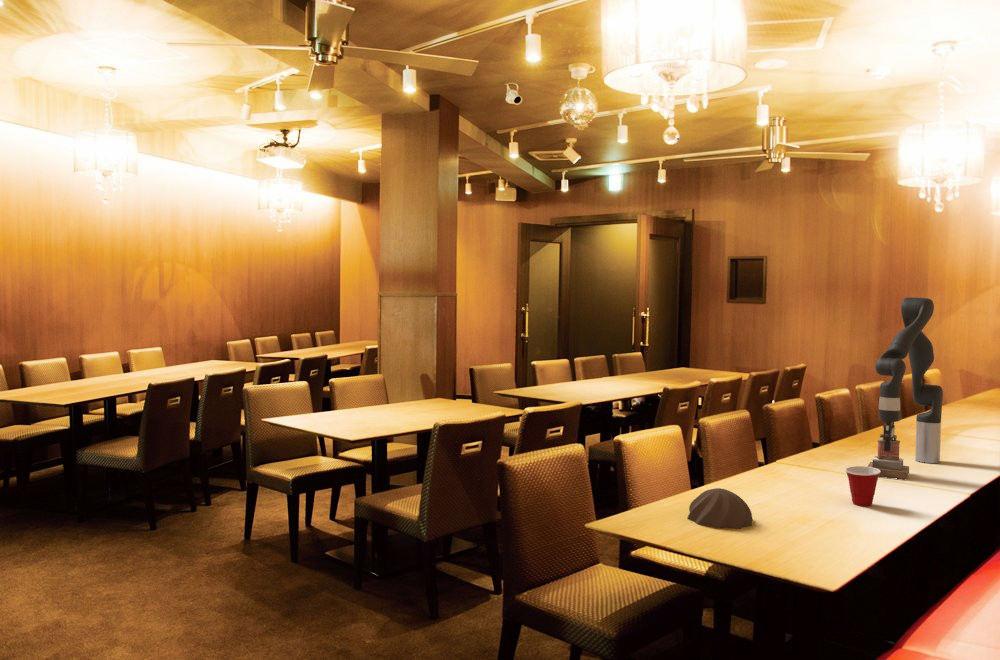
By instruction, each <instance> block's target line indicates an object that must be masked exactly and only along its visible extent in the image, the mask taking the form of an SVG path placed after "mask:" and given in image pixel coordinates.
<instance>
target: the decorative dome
mask: <svg viewBox="0 0 1000 660" xmlns="http://www.w3.org/2000/svg"><path fill="white" fill-rule="evenodd" d="M688 509H689V510H688V511H689V514H688V516H687V520H689V521H693V522H694V523H695V525H698V526H705V527H710V528H714V529H721V530H722V529H730V530H731V529H732V530H739V529H742V528H749V527H753V521H754V520H753V514H752V511H751V509H750V507H749V505H748V504H747V502H746V501H744V499H743V498H742V497H740V496H739V495H738V494H736V493H735V492H733V491H730V490H727V489H725V488H719V487H718V488H710V489H707V490H704V491H702V492H701V493H700V494H699V495H698V496H696V498H695V499H693V500H692V501H691V503H690V504H689V507H688Z"/></svg>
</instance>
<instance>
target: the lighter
mask: <svg viewBox="0 0 1000 660" xmlns="http://www.w3.org/2000/svg"><path fill="white" fill-rule="evenodd" d="M897 437H898V436H897V435H896V434H894V435H893V437H891V450H890V451H884V440H883V438H884V436H883V433H880V434H879V438H881V439H877V455H876V456H877V459H880V460H899V459H900V444H901V441H900V440H897V439H898V438H897ZM887 438H889V437H887Z"/></svg>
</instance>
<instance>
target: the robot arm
mask: <svg viewBox="0 0 1000 660" xmlns="http://www.w3.org/2000/svg"><path fill="white" fill-rule="evenodd" d="M934 305H935V304H934V302H933V300H932V299H931V298H928V297H927V298H925V297H911V296H910V297H908V296H907V297H904V298H903V299H902V301H901V303H900V313H901V318H902V322H903V326H904V328H903V329H901V330H899V332H898V333H896V335H894V337H893V339H892V341H891V343H890V345H889V347H888V348H887V349H886V351H884V353H882V354H881V355H880V357H879V358H878V359H877V360H876V362H875V366H874V367H875V371H876V373H877V374H878V375H880V376H887V377H891V379H890V380H889V381H882V382H881V383H880V385H879V386H880V387H879V399H878V400H879V401H878V420H879V421H881V422H882V421H884V424H883V426H882V434H883V436H884V438H882V440H884V451H890V450H891V437H893V435H895V430H896V425H895V423H897V422H900V421H901V398H900V397H901V385H902V383H903V382H902V381H903V379H904V376H905V373H906V369H907V367H906V363H905V361H904V360H903V359H906V357H907V356H908V359H909V364H910V371H911V382H912V385H911V386H912V398H913V402H914V404H916V406H925V407H931V409H930V410H929V411H926V412H921V413H918V414H916V417H915V419H916V421H915V422H916V425H915V458H914V459H915V461H917V462H919V461H920V463H924V462H925V464H940V462H941V442H942V441H941V440H942V439H941V436H942V435H941V434H942V433H941V432H942V411H943V399H944V391H943V388H942V386H941V385H939V384H926V383H924V384H923V378H924V376H925V374H926V373H927V371H929V369H930V368H931V366H932V365H933V364H934V360H935V354H934V346H933V343H932V342H931V340H930V339H929V338H928V336H927V335H926V334H925V333H924V332H923V330H924V328H925V327H926V325H927V324H928V323H929V321H930V320H931V318H932V316H933V314H934V311H935V306H934ZM887 437H889V438H887Z"/></svg>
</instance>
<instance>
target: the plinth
mask: <svg viewBox="0 0 1000 660" xmlns="http://www.w3.org/2000/svg"><path fill="white" fill-rule="evenodd" d="M877 456H878V455H875V456H874V457H873V459H872V461H870V462H869V463H868V465H867V466H866V467H873V468H877V469H879V470H880V471H881V472H880V473H879V477H878V478H882V477H887V478H886V479H891V478H897V479H896V480H899V479H907V480H908V478H909V475H910V465H904V458H899V460H880V459H877ZM908 474H909V475H908ZM907 477H908V478H907Z"/></svg>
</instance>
